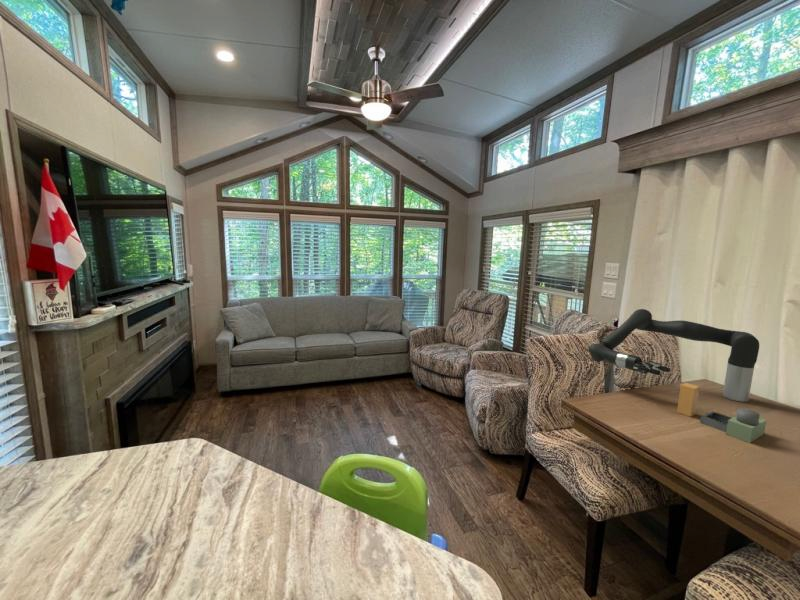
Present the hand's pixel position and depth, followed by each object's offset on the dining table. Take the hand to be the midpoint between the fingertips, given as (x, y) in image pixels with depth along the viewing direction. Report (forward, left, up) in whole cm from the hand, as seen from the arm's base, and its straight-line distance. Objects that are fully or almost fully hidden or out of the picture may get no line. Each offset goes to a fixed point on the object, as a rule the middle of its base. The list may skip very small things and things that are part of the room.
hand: (664, 371), depth 158 cm
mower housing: (+10, +28, -16) cm, 34 cm away
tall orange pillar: (+3, +9, -16) cm, 19 cm away
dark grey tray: (+7, +21, -16) cm, 27 cm away
